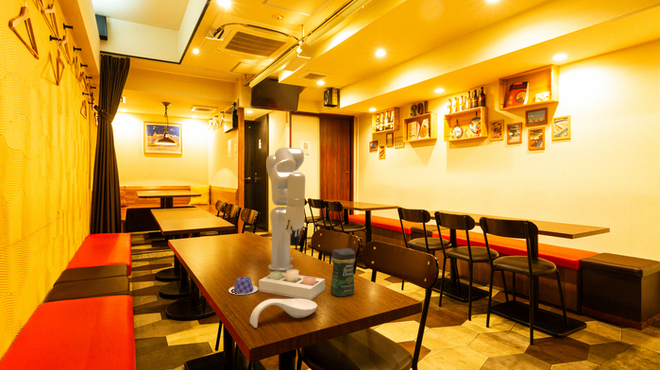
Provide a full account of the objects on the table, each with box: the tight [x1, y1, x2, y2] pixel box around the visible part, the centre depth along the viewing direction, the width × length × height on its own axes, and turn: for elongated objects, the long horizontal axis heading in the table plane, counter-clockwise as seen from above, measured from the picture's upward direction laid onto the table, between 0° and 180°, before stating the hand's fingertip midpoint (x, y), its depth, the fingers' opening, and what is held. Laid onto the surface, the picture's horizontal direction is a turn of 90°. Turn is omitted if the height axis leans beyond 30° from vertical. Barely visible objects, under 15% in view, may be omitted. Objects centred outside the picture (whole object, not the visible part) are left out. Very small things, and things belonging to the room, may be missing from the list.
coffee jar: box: [330, 247, 356, 297], centre depth 139 cm, size 10×8×19 cm
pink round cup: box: [303, 275, 317, 286], centre depth 139 cm, size 5×5×5 cm
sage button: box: [269, 270, 283, 280], centre depth 145 cm, size 5×5×5 cm
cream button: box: [285, 268, 300, 283], centre depth 142 cm, size 5×5×5 cm
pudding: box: [228, 276, 259, 295], centre depth 141 cm, size 12×12×5 cm
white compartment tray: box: [258, 272, 326, 301], centre depth 142 cm, size 14×24×4 cm, turn 67°
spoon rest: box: [249, 298, 318, 328], centre depth 115 cm, size 24×12×7 cm, turn 126°
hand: (294, 245), depth 144 cm, fingers closed
